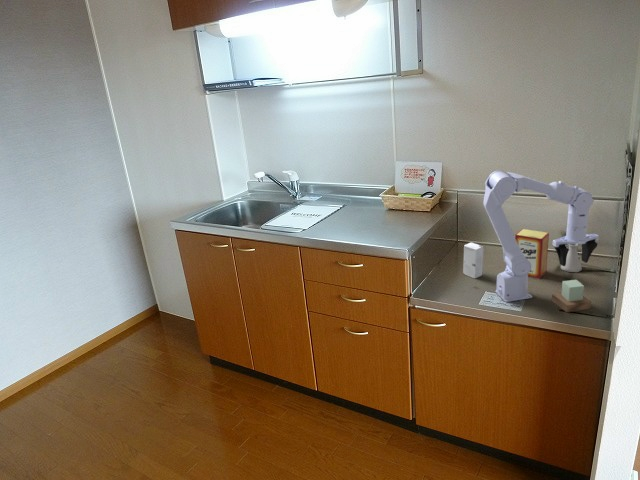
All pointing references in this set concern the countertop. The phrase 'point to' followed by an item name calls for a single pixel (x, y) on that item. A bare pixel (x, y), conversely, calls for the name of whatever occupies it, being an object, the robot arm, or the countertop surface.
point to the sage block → (572, 290)
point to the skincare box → (473, 260)
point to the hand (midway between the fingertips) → (573, 263)
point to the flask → (572, 260)
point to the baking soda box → (534, 250)
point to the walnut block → (570, 303)
